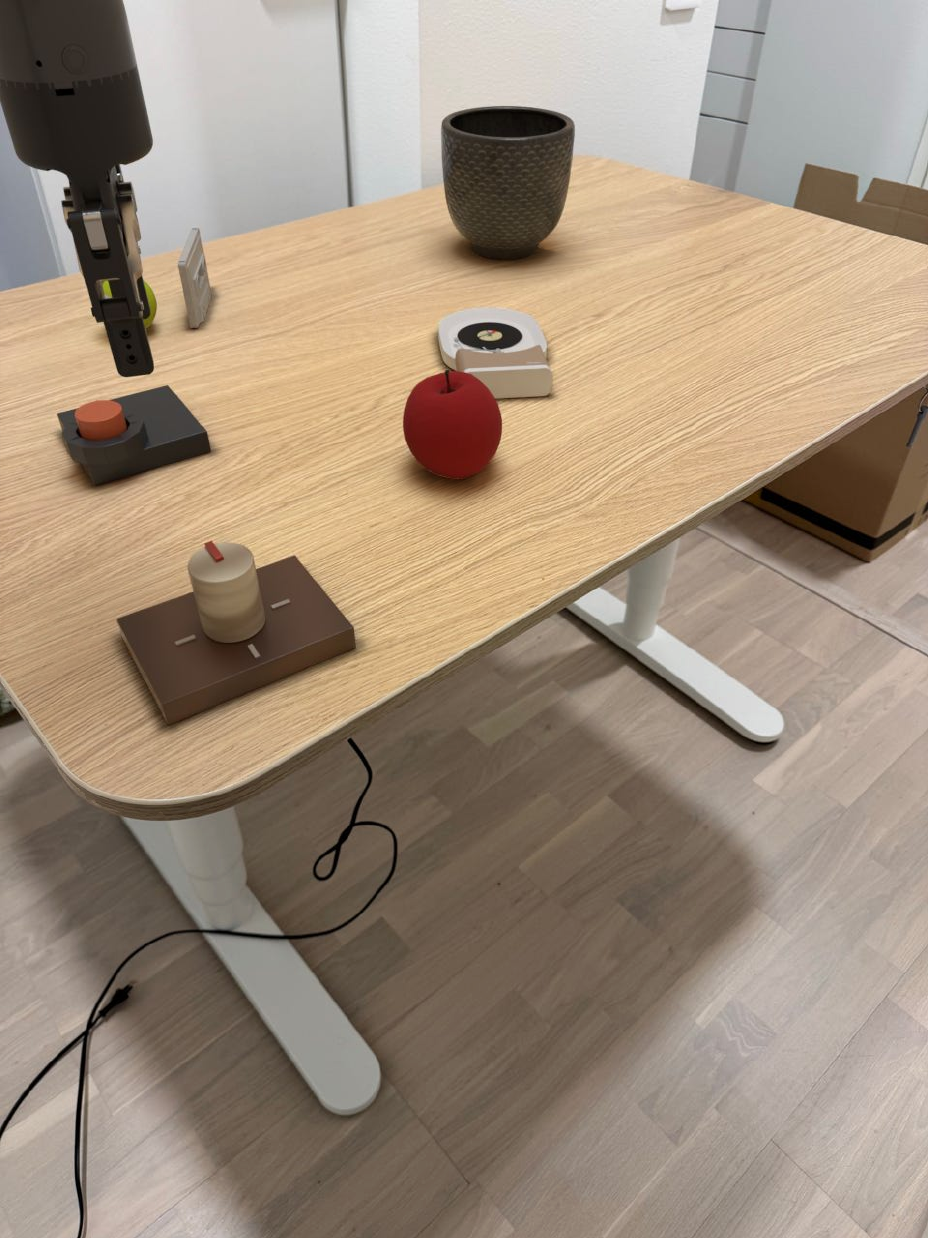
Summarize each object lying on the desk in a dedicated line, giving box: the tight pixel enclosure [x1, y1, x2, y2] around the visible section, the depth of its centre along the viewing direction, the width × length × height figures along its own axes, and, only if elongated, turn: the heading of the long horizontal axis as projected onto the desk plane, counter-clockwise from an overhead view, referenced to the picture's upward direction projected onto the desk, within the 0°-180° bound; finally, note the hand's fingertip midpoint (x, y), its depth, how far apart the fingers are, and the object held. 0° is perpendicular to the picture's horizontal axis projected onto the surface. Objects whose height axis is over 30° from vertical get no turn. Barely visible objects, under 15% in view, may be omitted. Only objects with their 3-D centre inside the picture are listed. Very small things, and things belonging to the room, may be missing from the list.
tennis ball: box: [103, 279, 158, 330], centre depth 104 cm, size 7×7×7 cm
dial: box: [186, 540, 265, 643], centre depth 63 cm, size 4×4×6 cm
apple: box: [402, 369, 503, 480], centre depth 81 cm, size 9×9×10 cm
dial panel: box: [115, 554, 357, 726], centre depth 65 cm, size 14×10×2 cm
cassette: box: [177, 227, 212, 329], centre depth 108 cm, size 12×2×8 cm, turn 5°
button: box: [75, 399, 127, 441], centre depth 81 cm, size 4×4×2 cm
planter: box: [440, 105, 576, 261], centre depth 121 cm, size 17×17×16 cm
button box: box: [56, 384, 212, 486], centre depth 85 cm, size 12×12×4 cm
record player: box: [437, 306, 554, 400], centre depth 100 cm, size 12×3×20 cm
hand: (136, 344), depth 60 cm, fingers open, 8 cm apart
